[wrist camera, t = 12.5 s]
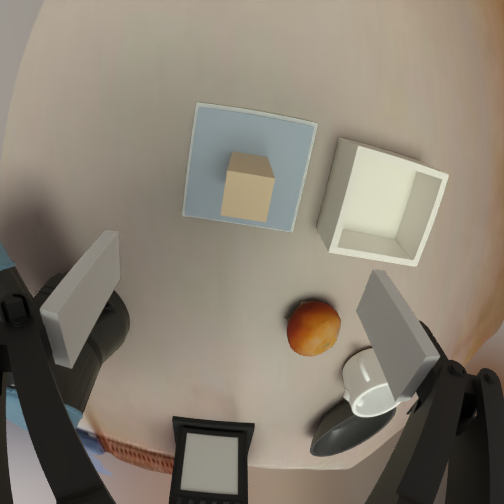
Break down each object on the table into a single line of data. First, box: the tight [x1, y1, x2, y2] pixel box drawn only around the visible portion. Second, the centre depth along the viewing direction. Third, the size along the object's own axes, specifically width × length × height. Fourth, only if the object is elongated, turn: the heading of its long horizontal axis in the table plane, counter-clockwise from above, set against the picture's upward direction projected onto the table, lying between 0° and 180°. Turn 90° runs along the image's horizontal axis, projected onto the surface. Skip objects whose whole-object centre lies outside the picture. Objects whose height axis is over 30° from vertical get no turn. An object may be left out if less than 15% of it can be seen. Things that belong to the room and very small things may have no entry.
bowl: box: [310, 400, 396, 457], centre depth 57 cm, size 12×22×6 cm, turn 148°
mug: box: [342, 348, 401, 417], centre depth 49 cm, size 12×10×9 cm
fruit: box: [284, 300, 341, 356], centre depth 45 cm, size 8×8×8 cm
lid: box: [185, 107, 314, 231], centre depth 32 cm, size 13×13×11 cm
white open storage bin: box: [316, 137, 449, 267], centre depth 36 cm, size 12×12×7 cm
